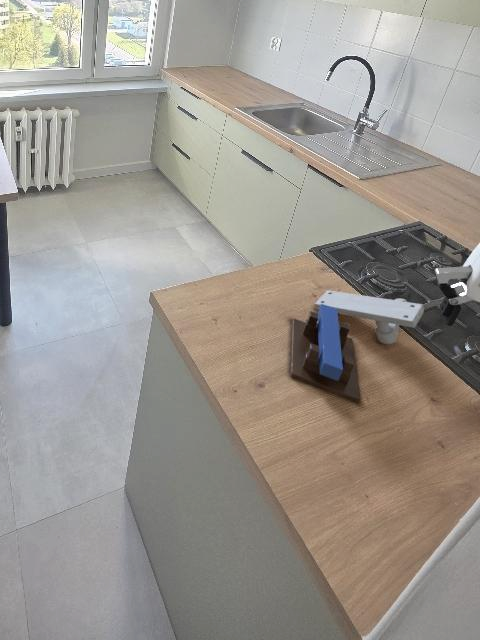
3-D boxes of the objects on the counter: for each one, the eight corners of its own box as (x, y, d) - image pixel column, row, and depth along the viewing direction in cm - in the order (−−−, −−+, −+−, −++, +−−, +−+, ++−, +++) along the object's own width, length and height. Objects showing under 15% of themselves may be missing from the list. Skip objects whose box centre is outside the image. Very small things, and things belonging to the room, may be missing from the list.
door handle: (324, 335, 100) (424, 359, 84) (314, 303, 100) (412, 321, 84) (353, 299, 111) (447, 313, 94) (344, 270, 110) (437, 280, 94)
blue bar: (333, 319, 93) (337, 308, 91) (338, 381, 79) (343, 369, 78) (317, 314, 94) (321, 303, 92) (319, 374, 80) (324, 362, 79)
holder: (350, 341, 92) (359, 320, 89) (358, 402, 80) (368, 379, 77) (292, 321, 97) (299, 300, 94) (290, 376, 84) (298, 353, 81)
